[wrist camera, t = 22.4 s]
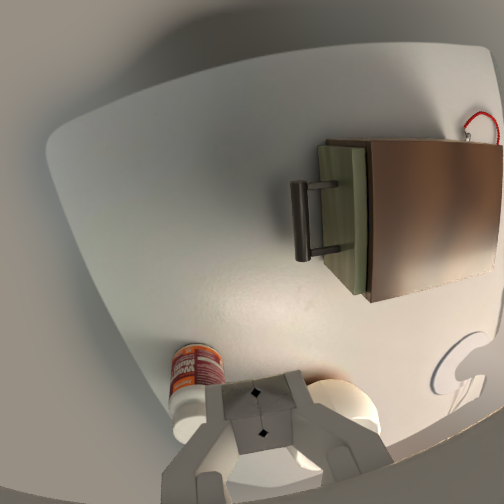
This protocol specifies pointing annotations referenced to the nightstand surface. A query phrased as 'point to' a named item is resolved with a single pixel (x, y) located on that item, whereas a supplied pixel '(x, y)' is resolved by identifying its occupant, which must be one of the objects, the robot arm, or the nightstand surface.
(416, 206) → the cabinet
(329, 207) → the drawer
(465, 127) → the necklace
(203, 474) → the robot arm
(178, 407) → the pill bottle
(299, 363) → the nightstand surface
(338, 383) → the cup
